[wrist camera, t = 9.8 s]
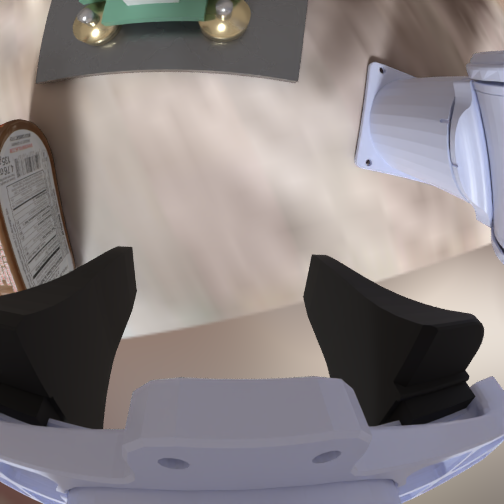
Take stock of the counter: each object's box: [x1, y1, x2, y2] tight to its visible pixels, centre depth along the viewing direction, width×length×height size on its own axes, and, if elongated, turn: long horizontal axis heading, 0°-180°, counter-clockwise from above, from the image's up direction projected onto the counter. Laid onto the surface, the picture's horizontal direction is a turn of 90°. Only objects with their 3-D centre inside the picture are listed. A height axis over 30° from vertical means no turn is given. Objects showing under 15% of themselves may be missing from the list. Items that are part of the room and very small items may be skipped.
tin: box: [0, 119, 75, 296], centre depth 15 cm, size 15×3×8 cm, turn 1°
